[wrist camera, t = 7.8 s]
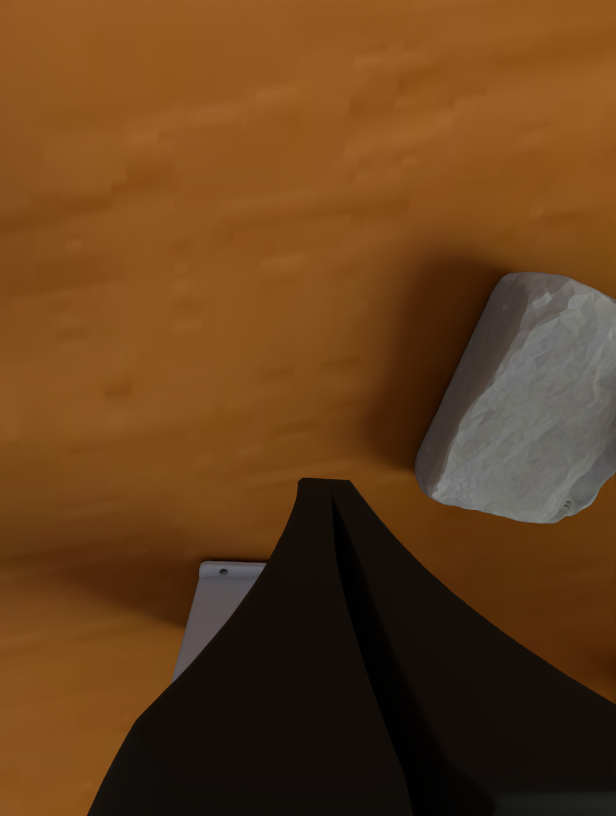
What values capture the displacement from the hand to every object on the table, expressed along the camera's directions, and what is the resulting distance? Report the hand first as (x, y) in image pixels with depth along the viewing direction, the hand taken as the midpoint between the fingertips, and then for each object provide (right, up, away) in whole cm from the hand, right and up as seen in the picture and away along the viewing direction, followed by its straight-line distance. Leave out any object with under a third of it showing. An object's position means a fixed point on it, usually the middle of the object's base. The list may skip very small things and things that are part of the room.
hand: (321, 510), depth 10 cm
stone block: (+11, +3, +11) cm, 16 cm away
